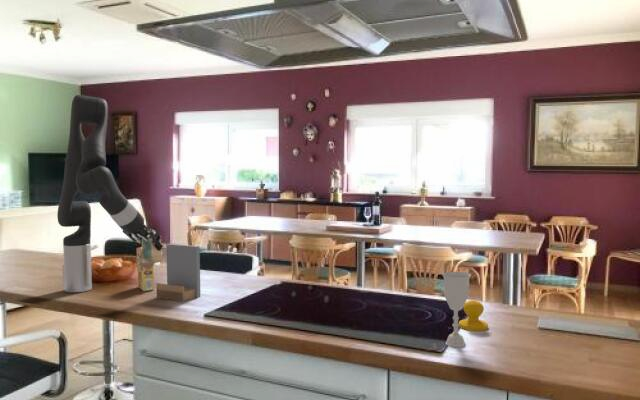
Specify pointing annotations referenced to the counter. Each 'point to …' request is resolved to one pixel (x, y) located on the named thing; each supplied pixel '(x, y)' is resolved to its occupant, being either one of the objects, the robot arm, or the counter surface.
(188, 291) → the cleat board
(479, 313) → the doorknob
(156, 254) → the cabinet block
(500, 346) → the counter surface
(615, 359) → the counter surface
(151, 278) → the candy box
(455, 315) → the chalice
